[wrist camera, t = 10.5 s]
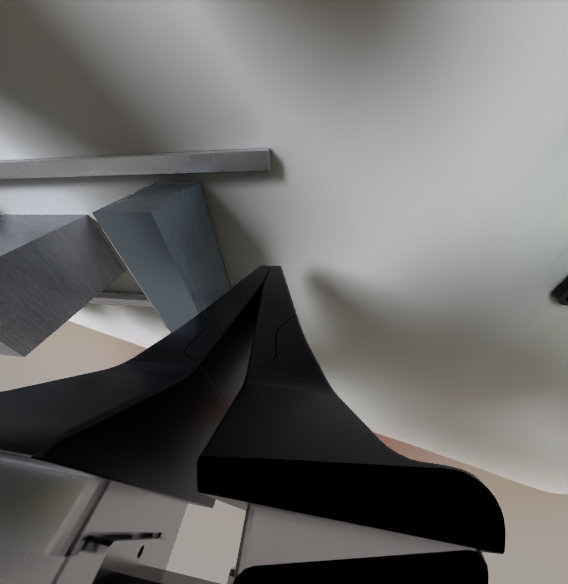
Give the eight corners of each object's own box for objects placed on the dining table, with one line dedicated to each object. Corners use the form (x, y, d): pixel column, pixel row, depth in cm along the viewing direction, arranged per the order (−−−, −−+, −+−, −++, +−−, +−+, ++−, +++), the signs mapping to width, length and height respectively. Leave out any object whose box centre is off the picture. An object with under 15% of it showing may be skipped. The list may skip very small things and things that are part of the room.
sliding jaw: (199, 181, 9) (151, 212, 6) (243, 330, 15) (227, 374, 13) (148, 182, 9) (83, 212, 7) (212, 328, 15) (191, 370, 13)
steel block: (0, 214, 12) (-202, 284, 7) (87, 214, 11) (-78, 292, 6) (51, 267, 14) (-78, 345, 9) (125, 270, 13) (24, 356, 9)
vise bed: (269, 147, 8) (243, 170, 5) (283, 308, 13) (273, 358, 11) (-96, 165, 10) (-238, 186, 8) (44, 294, 16) (-11, 331, 13)
